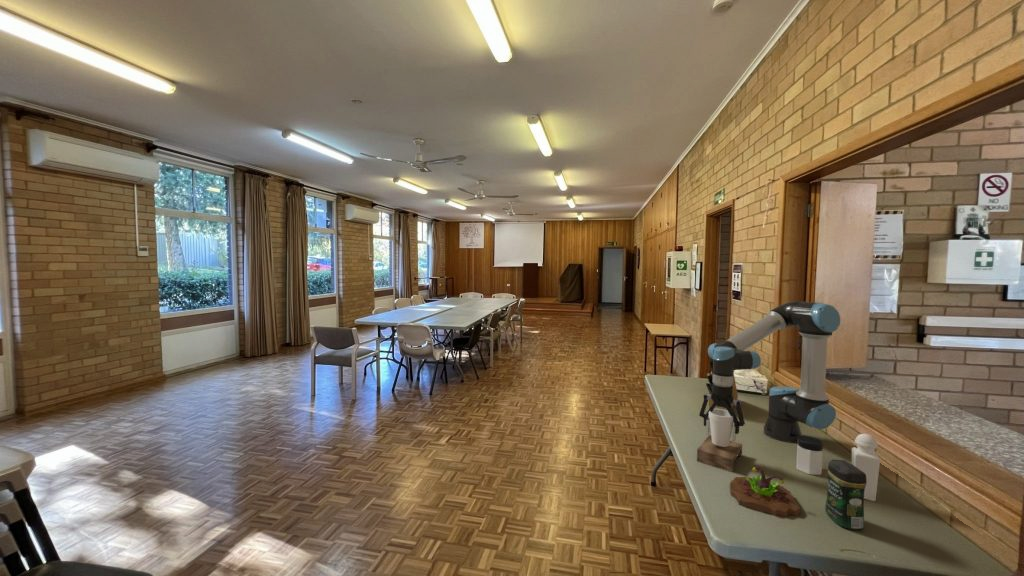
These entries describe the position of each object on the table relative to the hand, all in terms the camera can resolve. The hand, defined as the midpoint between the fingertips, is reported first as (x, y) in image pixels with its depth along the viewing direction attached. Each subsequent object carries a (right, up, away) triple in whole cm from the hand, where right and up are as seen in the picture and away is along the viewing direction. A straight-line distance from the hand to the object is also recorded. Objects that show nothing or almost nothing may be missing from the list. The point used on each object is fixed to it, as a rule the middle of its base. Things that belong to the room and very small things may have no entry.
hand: (720, 437), depth 165 cm
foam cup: (0, -3, 0) cm, 3 cm away
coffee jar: (+18, -12, -40) cm, 45 cm away
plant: (0, -11, -27) cm, 30 cm away
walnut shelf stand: (0, -9, +1) cm, 9 cm away
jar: (+30, -10, -8) cm, 33 cm away
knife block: (+33, -6, +60) cm, 69 cm away
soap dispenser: (+37, -11, -26) cm, 46 cm away
